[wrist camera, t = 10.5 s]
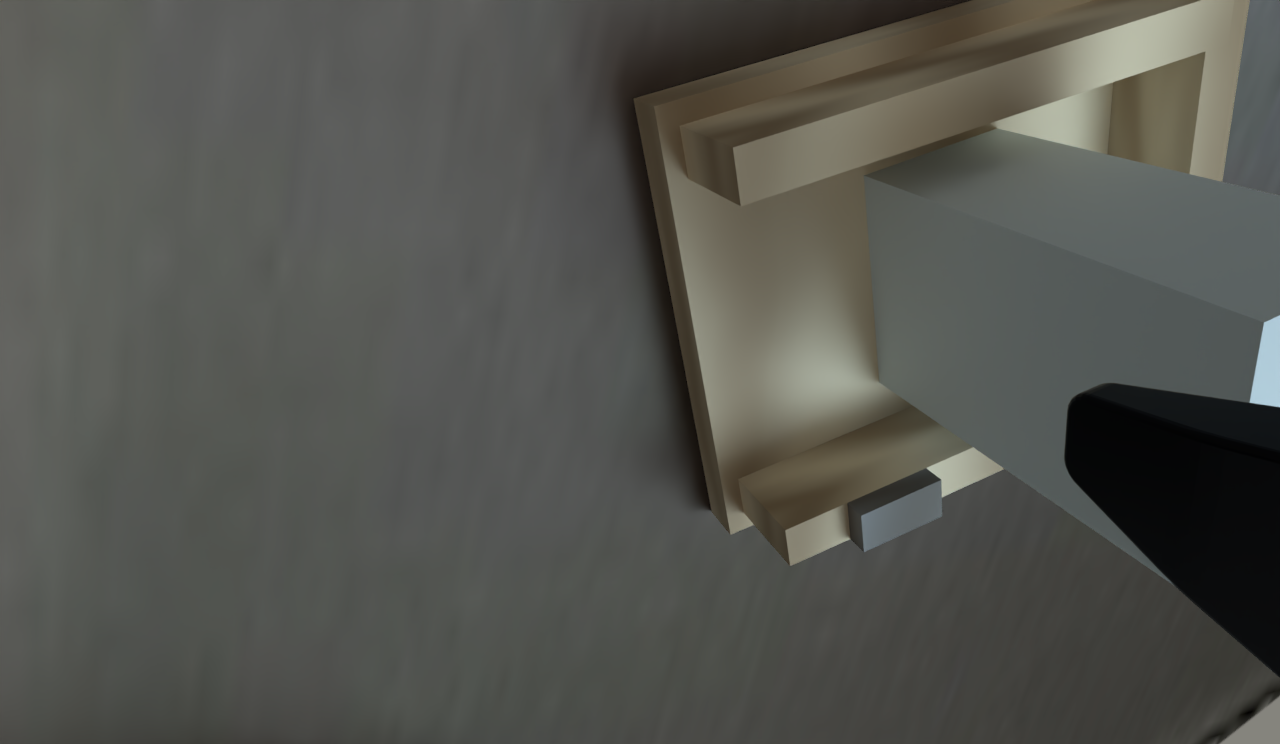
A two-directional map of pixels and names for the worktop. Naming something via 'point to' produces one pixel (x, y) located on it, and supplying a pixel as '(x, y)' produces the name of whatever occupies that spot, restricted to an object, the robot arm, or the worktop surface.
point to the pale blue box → (1065, 294)
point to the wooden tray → (838, 233)
